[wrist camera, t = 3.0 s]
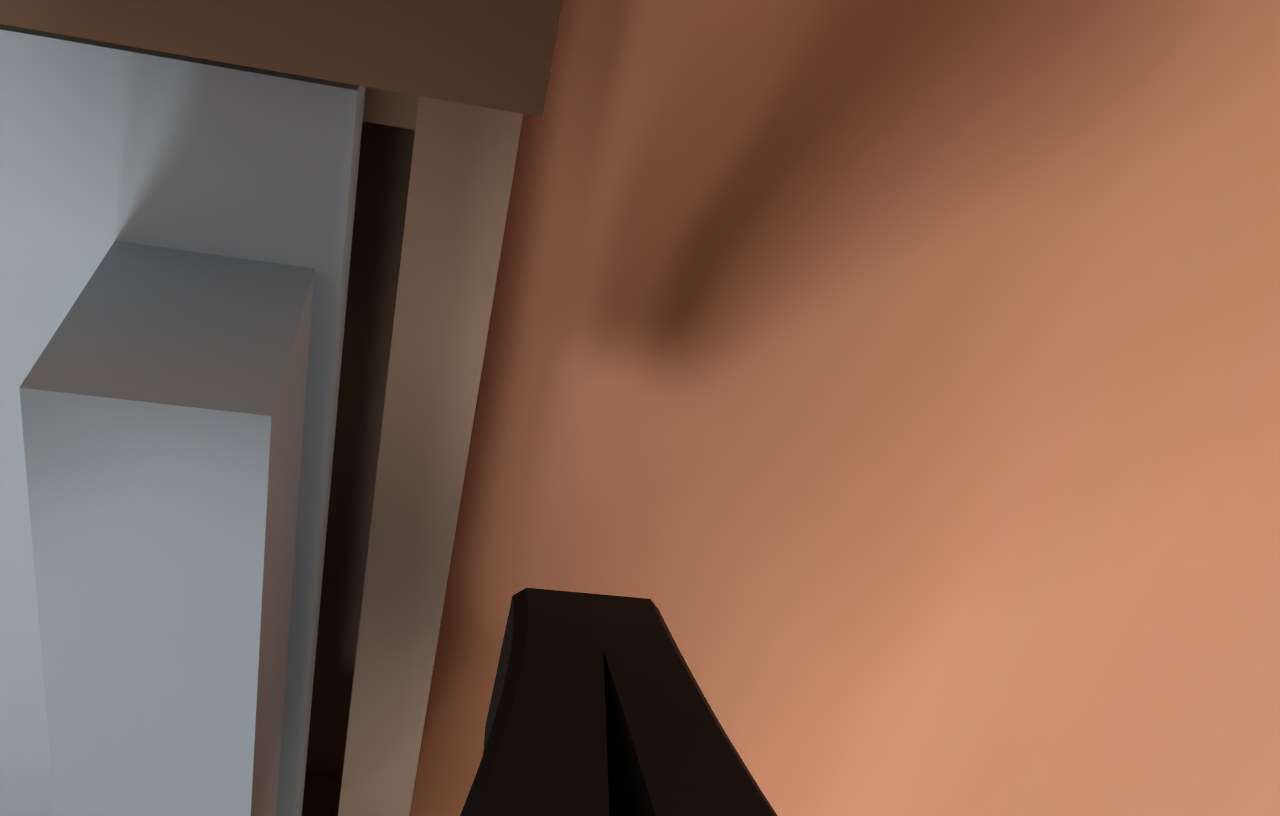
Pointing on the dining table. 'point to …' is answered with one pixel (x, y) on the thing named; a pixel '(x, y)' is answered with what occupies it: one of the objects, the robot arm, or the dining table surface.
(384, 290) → the case
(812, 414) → the dining table surface
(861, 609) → the dining table surface
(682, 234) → the dining table surface
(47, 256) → the cover plate
